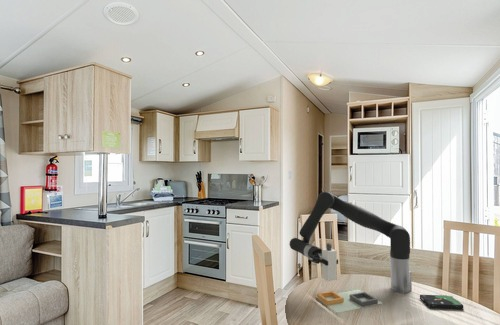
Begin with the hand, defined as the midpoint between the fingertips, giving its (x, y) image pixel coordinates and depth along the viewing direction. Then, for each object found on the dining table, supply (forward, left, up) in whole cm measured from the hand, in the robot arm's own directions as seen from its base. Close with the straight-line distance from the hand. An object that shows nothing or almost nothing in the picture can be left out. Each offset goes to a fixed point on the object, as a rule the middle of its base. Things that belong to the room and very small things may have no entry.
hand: (332, 262), depth 143 cm
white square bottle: (0, -3, -8) cm, 9 cm away
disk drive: (-47, +19, -21) cm, 55 cm away
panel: (-8, +1, -20) cm, 21 cm away
